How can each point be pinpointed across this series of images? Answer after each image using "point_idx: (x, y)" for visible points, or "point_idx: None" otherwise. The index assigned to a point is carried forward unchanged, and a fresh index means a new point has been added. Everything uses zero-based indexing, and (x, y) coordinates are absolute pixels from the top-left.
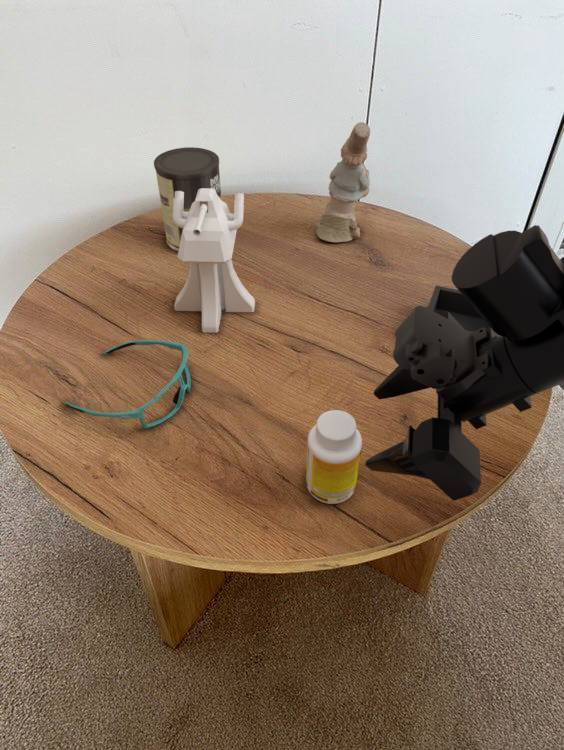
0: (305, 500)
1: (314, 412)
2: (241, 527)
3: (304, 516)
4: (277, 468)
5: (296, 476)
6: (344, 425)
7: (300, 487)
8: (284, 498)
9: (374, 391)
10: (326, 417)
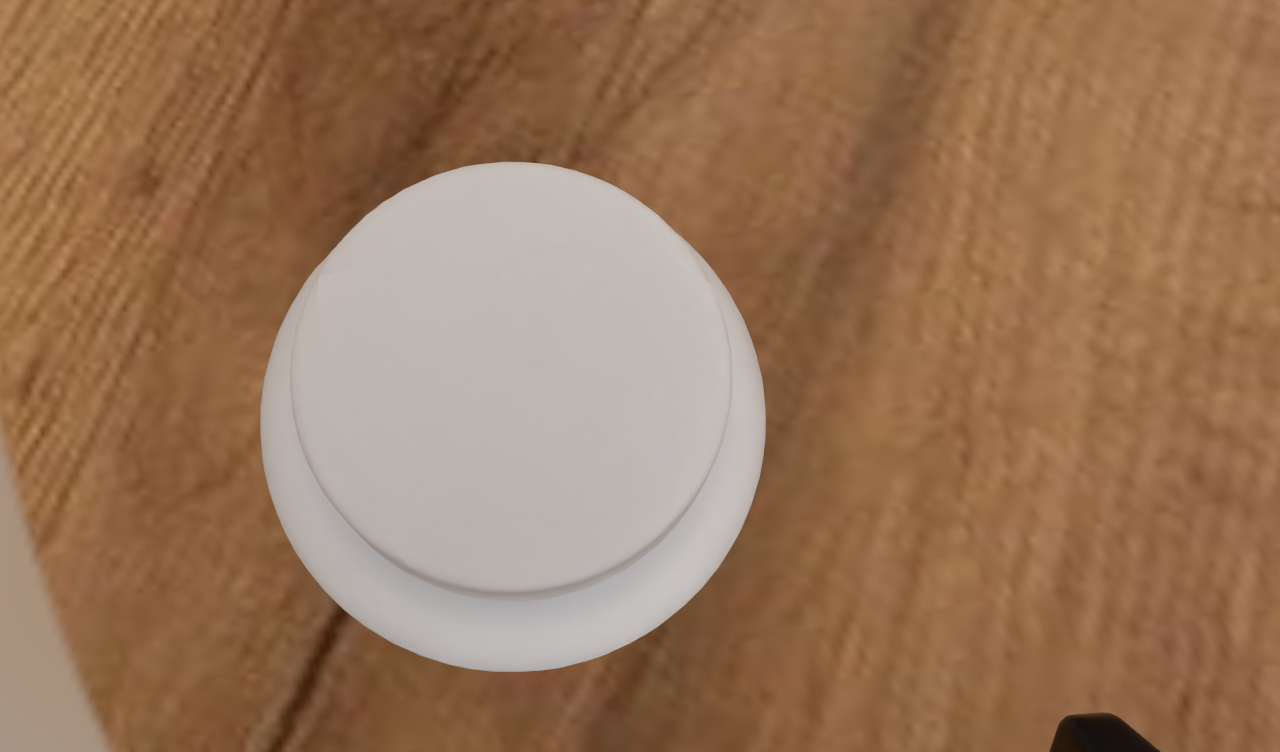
0: None
1: (1060, 281)
2: (124, 55)
3: None
4: (569, 155)
5: None
6: (514, 454)
7: None
8: None
9: (1098, 723)
10: (587, 244)
